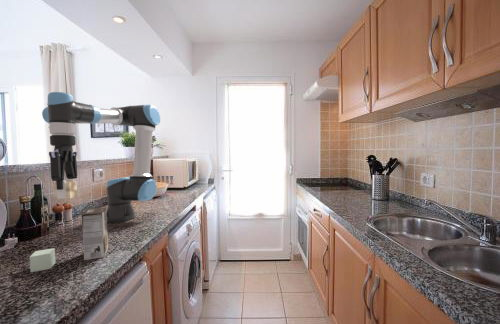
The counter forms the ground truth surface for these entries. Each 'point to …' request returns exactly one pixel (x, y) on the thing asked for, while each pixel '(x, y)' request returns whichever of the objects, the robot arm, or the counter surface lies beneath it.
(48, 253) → the sage block
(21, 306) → the counter surface
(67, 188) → the maple block
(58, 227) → the counter surface
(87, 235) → the coffee box
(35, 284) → the counter surface
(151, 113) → the robot arm
